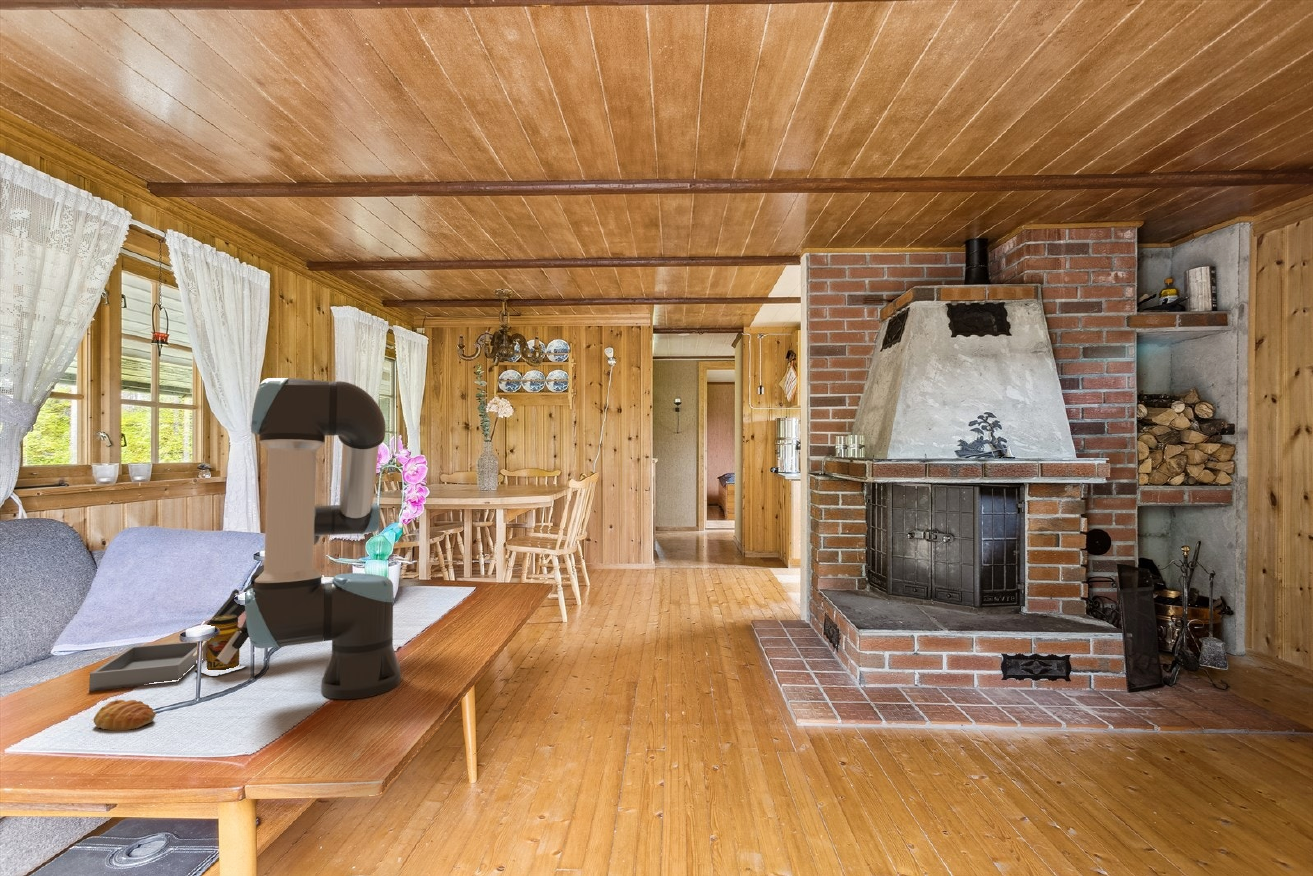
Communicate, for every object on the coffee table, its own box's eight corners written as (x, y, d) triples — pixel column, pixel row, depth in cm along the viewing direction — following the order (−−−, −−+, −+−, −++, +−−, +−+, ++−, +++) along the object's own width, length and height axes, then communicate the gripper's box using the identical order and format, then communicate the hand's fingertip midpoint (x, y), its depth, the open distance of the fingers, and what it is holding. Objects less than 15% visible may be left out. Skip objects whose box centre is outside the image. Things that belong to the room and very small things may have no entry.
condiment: (213, 678, 132) (215, 622, 133) (193, 671, 136) (195, 617, 137) (249, 668, 139) (250, 615, 139) (228, 662, 143) (230, 610, 143)
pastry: (167, 719, 112) (167, 698, 112) (127, 736, 105) (128, 713, 105) (127, 714, 114) (128, 694, 114) (86, 730, 107) (87, 708, 108)
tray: (177, 682, 130) (178, 665, 130) (89, 691, 125) (89, 673, 125) (207, 655, 148) (207, 640, 148) (130, 662, 142) (130, 646, 142)
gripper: (314, 583, 151) (254, 671, 134) (253, 579, 155) (188, 664, 139) (297, 565, 146) (232, 655, 129) (235, 561, 151) (165, 648, 134)
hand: (209, 659), depth 134 cm, fingers closed on condiment, 6 cm apart
